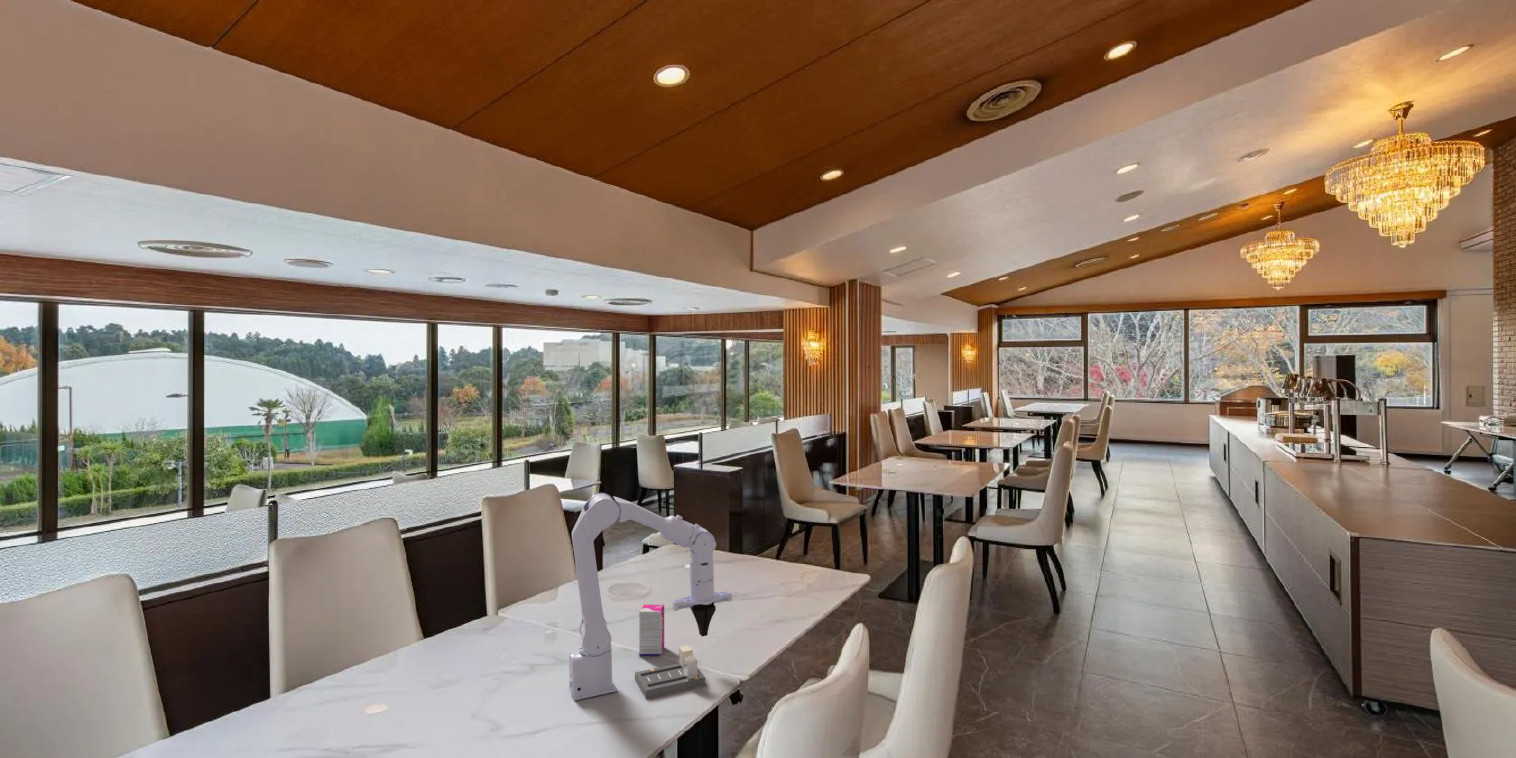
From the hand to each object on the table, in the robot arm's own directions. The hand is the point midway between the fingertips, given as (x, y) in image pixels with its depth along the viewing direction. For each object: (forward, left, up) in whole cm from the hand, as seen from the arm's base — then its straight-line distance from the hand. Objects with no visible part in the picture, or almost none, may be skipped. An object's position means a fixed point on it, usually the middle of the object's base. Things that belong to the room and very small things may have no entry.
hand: (703, 634), depth 158 cm
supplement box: (-9, +16, -9) cm, 20 cm away
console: (-10, -3, -8) cm, 13 cm away
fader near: (-5, -6, -7) cm, 11 cm away
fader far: (-5, 0, -7) cm, 8 cm away
